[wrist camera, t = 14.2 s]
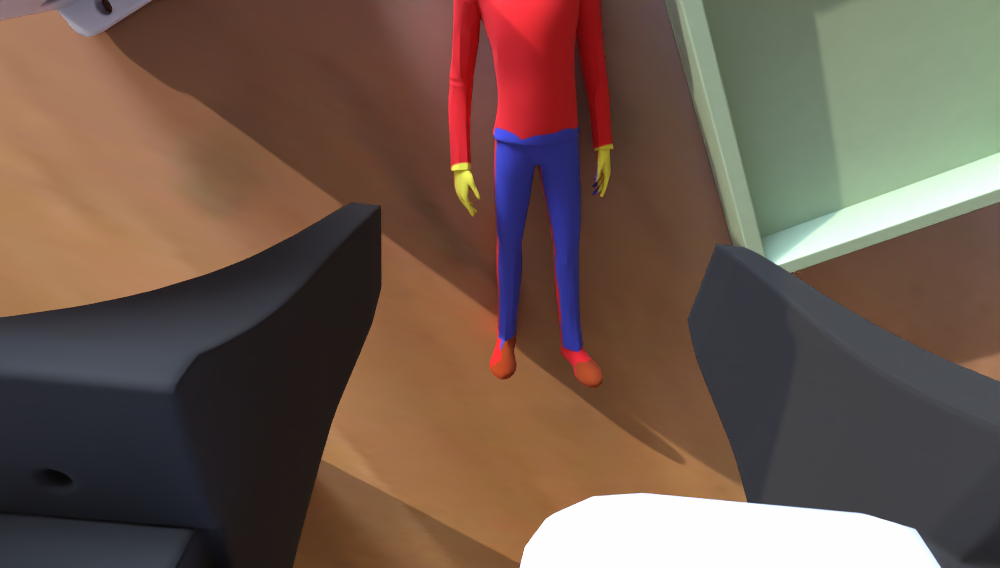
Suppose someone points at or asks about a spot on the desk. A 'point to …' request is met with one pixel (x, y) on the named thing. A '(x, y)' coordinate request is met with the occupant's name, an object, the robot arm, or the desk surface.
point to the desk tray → (843, 117)
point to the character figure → (533, 144)
